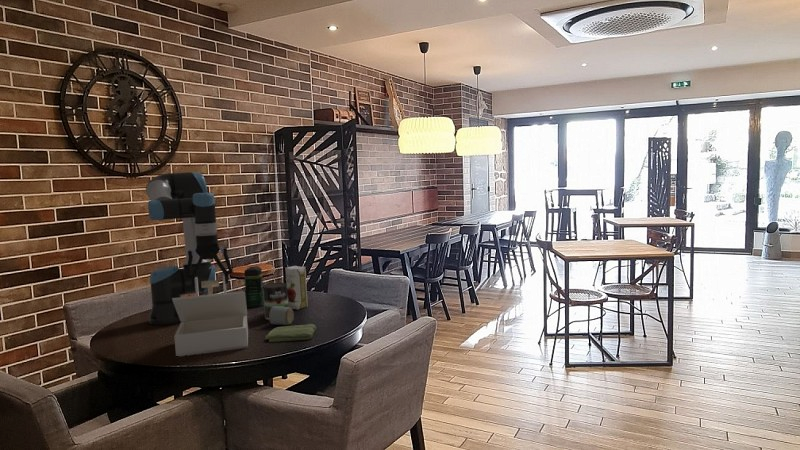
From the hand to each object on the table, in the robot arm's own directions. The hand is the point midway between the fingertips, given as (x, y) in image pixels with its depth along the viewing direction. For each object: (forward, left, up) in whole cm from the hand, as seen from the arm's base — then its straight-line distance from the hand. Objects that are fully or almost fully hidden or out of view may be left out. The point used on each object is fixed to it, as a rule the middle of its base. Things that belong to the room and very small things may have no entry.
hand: (211, 293), depth 194 cm
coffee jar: (-50, +15, -19) cm, 55 cm away
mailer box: (+4, 0, -18) cm, 19 cm away
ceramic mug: (-13, +26, -19) cm, 35 cm away
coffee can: (-25, +24, -19) cm, 39 cm away
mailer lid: (+3, 0, -5) cm, 5 cm away
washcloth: (+6, +28, -19) cm, 34 cm away
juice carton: (-37, +34, -19) cm, 53 cm away
